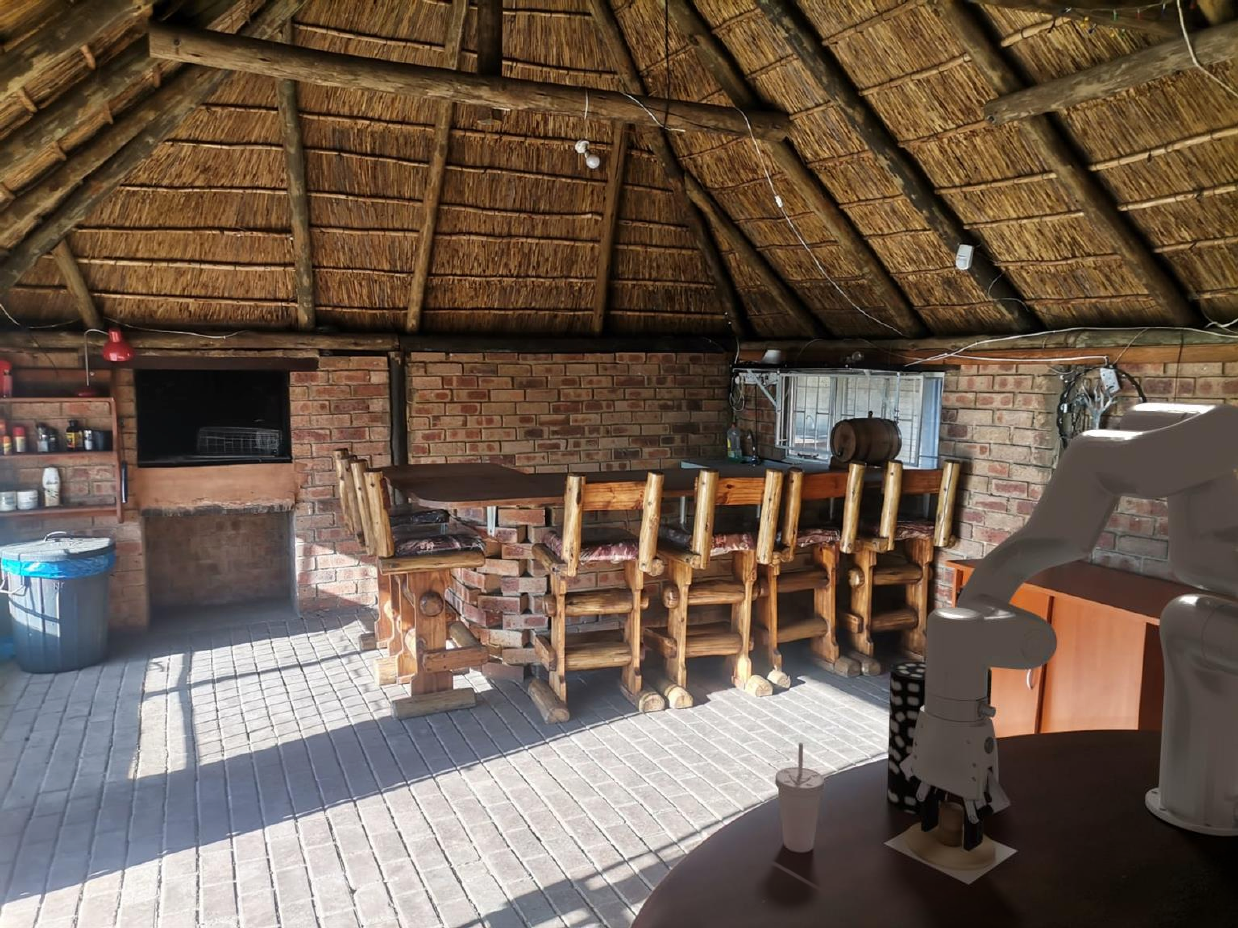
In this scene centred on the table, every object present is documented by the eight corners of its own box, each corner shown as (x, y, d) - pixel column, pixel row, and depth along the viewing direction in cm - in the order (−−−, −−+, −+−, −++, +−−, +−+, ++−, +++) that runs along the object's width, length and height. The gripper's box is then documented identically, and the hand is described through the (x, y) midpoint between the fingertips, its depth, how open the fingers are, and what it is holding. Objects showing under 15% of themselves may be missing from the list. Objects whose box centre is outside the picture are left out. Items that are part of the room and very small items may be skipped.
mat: (1017, 853, 113) (1017, 850, 113) (968, 886, 105) (968, 883, 105) (933, 817, 122) (933, 815, 122) (883, 846, 115) (884, 843, 115)
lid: (1011, 850, 113) (1013, 810, 112) (967, 880, 106) (968, 837, 105) (935, 817, 121) (936, 780, 121) (889, 843, 115) (890, 803, 114)
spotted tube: (940, 822, 121) (944, 684, 119) (880, 807, 125) (883, 673, 123) (952, 798, 128) (956, 667, 126) (895, 785, 132) (898, 658, 130)
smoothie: (825, 839, 116) (827, 739, 115) (820, 863, 110) (822, 758, 109) (778, 831, 119) (779, 732, 117) (770, 855, 112) (771, 751, 111)
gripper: (1034, 716, 108) (1028, 855, 109) (912, 680, 121) (909, 804, 123) (1004, 732, 103) (998, 876, 105) (881, 692, 116) (877, 821, 118)
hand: (950, 836), depth 114 cm, fingers open, 5 cm apart
